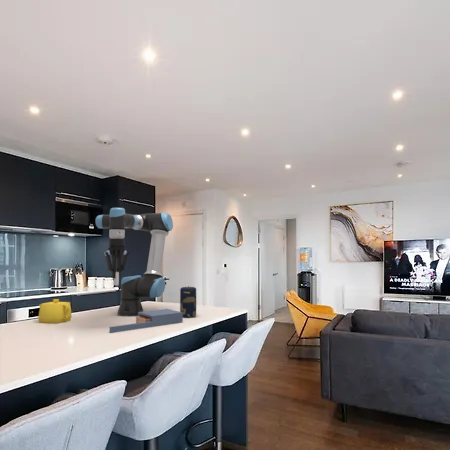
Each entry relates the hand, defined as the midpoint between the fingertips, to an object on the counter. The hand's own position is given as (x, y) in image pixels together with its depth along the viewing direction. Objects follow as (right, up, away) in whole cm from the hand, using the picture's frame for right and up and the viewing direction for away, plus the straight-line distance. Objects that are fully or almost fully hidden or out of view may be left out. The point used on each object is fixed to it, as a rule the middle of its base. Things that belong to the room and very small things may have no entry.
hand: (116, 285), depth 175 cm
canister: (+33, -24, +29) cm, 50 cm away
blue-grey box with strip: (+12, -21, +4) cm, 25 cm away
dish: (+18, -22, +9) cm, 29 cm away
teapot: (-39, -23, +15) cm, 47 cm away
